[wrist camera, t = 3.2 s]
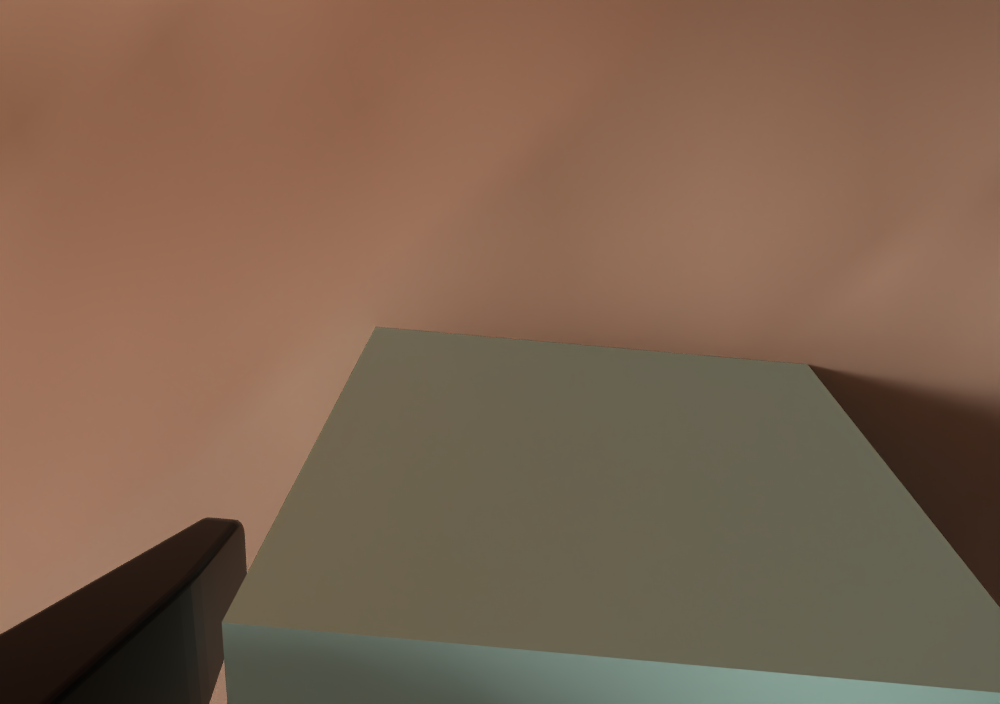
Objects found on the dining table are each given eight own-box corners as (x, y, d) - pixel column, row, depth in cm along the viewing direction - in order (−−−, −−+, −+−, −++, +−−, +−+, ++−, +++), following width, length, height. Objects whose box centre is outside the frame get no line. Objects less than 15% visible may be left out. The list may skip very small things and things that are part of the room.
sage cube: (725, 687, 11) (858, 1156, 7) (370, 656, 11) (255, 1098, 7) (805, 362, 9) (1071, 699, 5) (377, 324, 9) (221, 624, 5)
